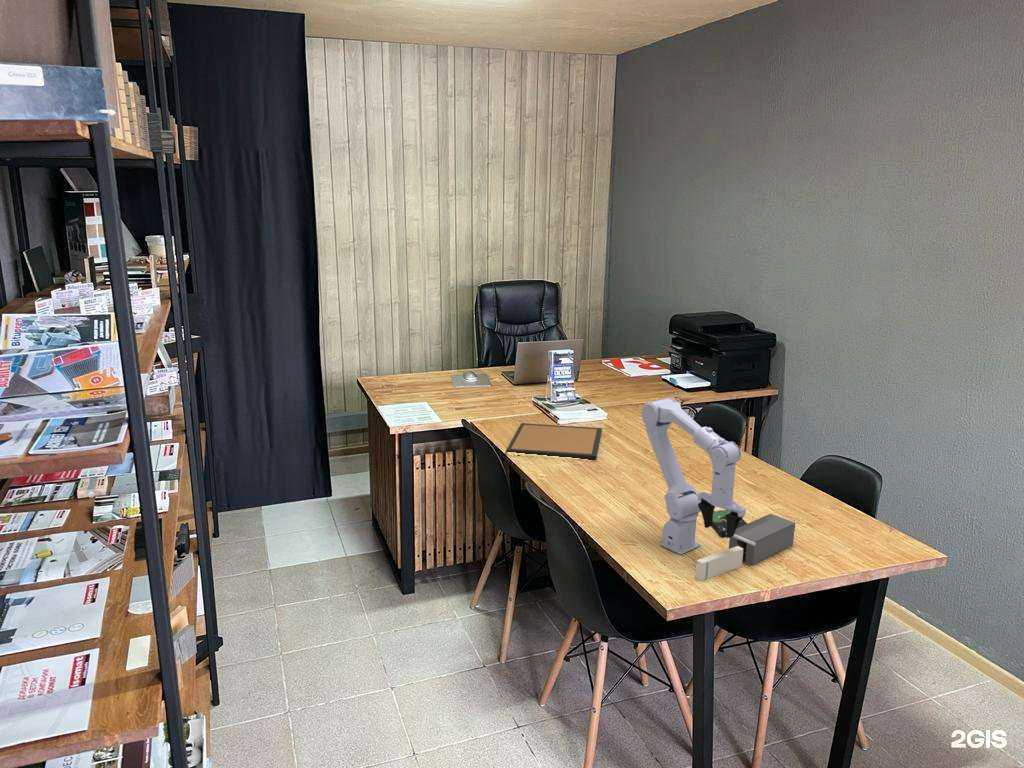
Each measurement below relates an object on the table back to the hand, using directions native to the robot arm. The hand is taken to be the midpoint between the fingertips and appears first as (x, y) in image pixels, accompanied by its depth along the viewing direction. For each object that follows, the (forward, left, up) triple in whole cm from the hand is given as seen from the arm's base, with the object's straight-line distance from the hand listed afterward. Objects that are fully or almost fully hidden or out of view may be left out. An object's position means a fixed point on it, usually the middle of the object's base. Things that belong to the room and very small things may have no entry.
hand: (719, 531), depth 208 cm
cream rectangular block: (-4, -4, -10) cm, 11 cm away
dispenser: (+16, -3, -9) cm, 19 cm away
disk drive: (+22, +13, -10) cm, 27 cm away
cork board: (+32, +104, -10) cm, 109 cm away
